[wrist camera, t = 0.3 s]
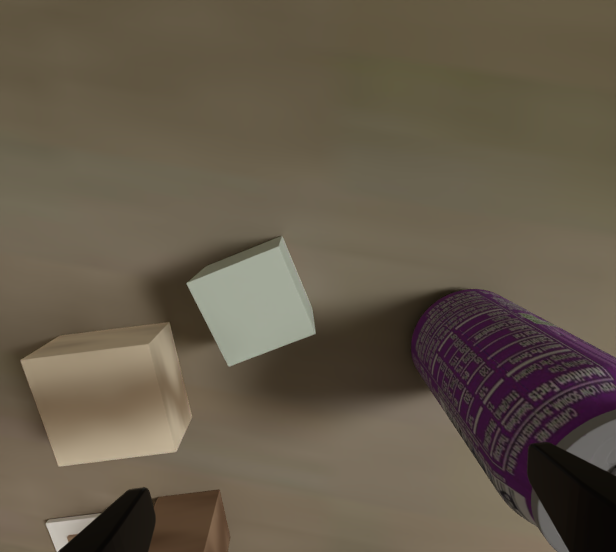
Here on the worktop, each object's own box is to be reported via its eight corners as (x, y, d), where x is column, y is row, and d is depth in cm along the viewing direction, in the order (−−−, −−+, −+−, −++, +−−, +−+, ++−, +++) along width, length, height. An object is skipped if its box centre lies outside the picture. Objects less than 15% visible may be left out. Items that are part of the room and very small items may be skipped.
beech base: (193, 414, 24) (176, 451, 20) (92, 426, 24) (58, 466, 20) (171, 320, 22) (148, 344, 19) (62, 333, 22) (20, 360, 19)
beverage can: (495, 391, 24) (685, 587, 12) (396, 377, 23) (494, 568, 12) (528, 294, 22) (787, 414, 10) (422, 277, 22) (569, 382, 10)
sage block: (312, 308, 22) (315, 333, 18) (240, 335, 22) (228, 366, 18) (282, 235, 21) (278, 246, 17) (206, 265, 21) (186, 283, 17)
